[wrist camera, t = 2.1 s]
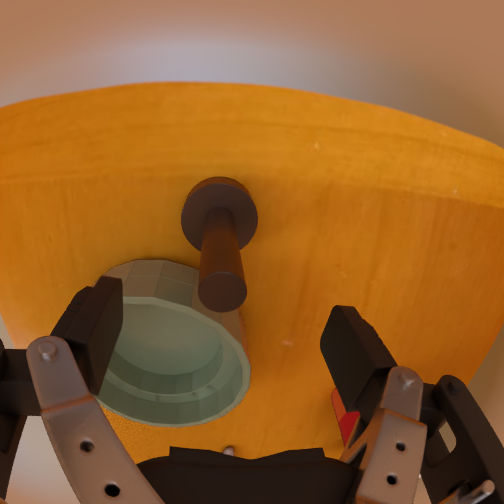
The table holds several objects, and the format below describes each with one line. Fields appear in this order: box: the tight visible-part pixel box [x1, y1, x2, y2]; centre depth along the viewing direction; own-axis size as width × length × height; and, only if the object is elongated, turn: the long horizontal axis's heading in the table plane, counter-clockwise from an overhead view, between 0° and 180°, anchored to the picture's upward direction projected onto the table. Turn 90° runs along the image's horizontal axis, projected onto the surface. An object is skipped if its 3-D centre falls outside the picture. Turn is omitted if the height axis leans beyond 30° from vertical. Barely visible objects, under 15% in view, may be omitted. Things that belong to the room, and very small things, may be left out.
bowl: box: [91, 260, 251, 428], centre depth 24 cm, size 15×15×6 cm
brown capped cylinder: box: [181, 177, 258, 313], centre depth 17 cm, size 5×5×11 cm
